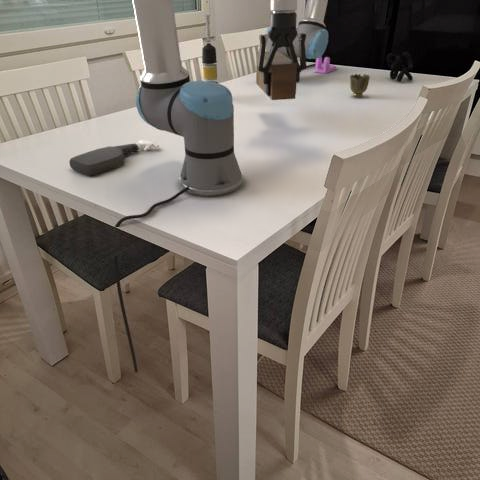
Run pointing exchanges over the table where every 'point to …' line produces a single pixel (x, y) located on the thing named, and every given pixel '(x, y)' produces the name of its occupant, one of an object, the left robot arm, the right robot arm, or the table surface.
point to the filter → (209, 57)
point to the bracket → (324, 65)
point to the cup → (359, 84)
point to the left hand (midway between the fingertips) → (280, 93)
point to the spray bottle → (106, 157)
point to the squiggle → (399, 66)
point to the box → (279, 77)
